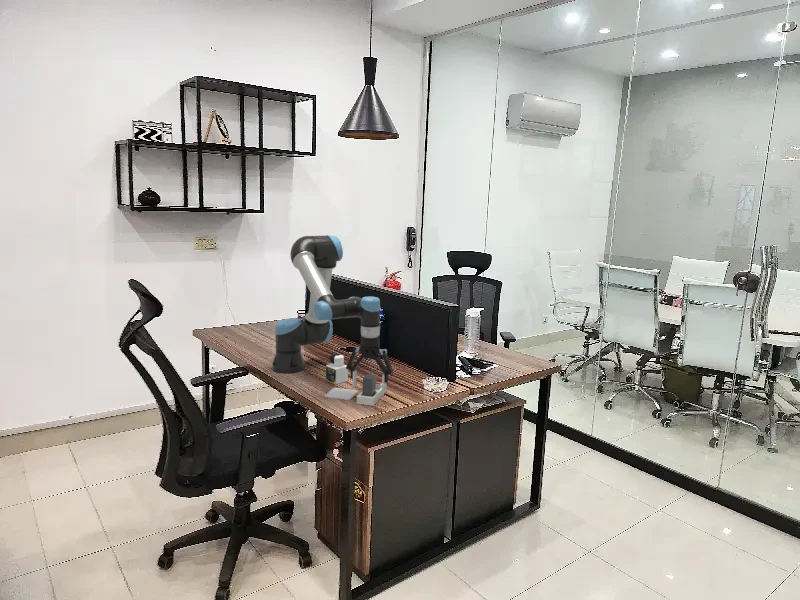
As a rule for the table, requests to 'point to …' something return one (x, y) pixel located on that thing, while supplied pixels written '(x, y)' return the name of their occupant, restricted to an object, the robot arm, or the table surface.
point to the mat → (341, 393)
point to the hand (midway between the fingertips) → (369, 388)
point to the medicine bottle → (336, 370)
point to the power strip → (371, 400)
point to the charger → (369, 385)
